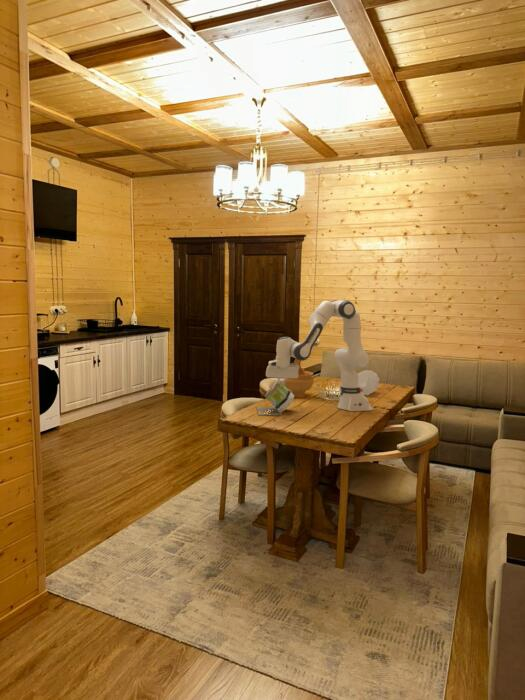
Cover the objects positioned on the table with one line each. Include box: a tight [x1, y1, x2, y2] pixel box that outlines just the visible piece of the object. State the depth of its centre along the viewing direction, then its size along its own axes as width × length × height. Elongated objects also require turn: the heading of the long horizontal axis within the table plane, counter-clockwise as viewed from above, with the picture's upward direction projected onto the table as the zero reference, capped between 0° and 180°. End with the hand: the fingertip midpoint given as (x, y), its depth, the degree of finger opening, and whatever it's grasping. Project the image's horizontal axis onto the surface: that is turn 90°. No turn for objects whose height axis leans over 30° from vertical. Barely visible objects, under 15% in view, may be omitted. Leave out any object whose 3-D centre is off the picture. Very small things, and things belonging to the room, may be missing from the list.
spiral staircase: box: [357, 369, 381, 396], centre depth 362 cm, size 18×18×25 cm
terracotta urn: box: [284, 358, 315, 398], centre depth 346 cm, size 21×21×30 cm
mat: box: [255, 406, 284, 416], centre depth 299 cm, size 15×20×1 cm
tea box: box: [264, 380, 295, 413], centre depth 300 cm, size 15×10×15 cm
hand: (281, 384), depth 298 cm, fingers closed
